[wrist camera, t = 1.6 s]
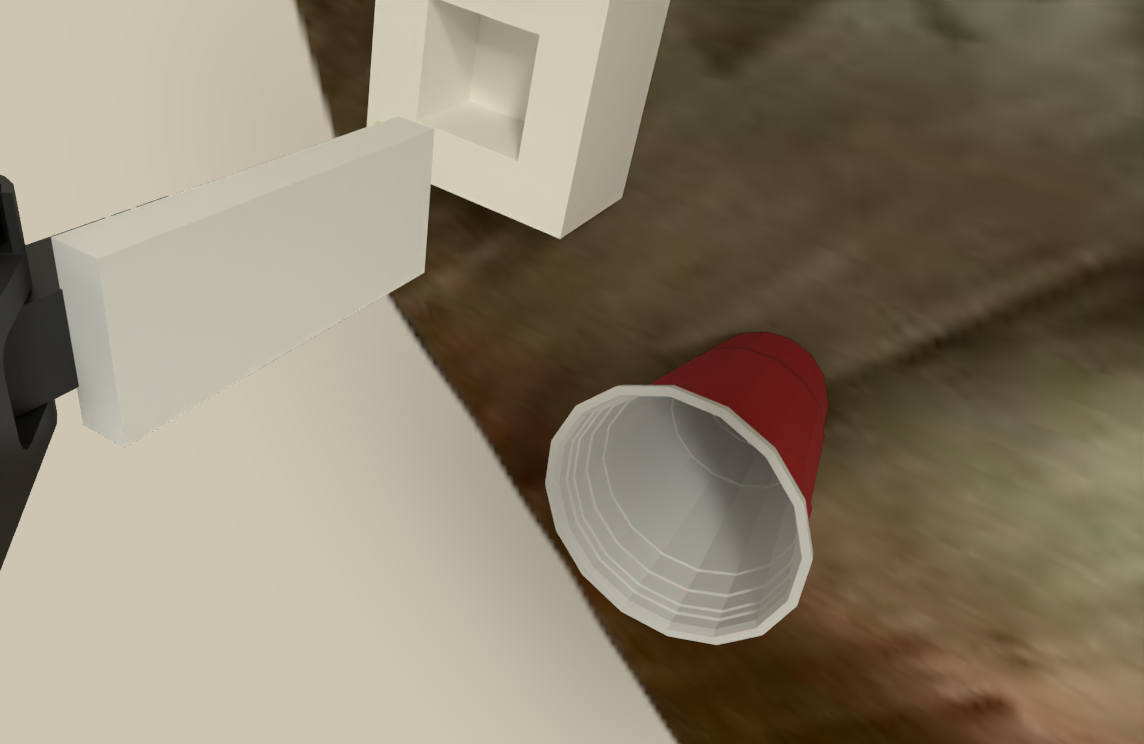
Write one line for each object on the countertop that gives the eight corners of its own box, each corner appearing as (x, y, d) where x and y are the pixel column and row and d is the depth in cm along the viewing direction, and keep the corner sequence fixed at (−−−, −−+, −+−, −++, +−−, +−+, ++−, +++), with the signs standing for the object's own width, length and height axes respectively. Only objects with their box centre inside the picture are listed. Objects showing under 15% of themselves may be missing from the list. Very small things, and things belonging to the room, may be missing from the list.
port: (469, -97, 40) (377, -91, 35) (677, -32, 37) (609, -15, 32) (442, 125, 45) (360, 157, 40) (622, 197, 42) (556, 241, 38)
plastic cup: (768, 225, 40) (659, 336, 30) (936, 411, 40) (879, 579, 30) (615, 357, 47) (487, 481, 37) (758, 517, 47) (667, 680, 37)
